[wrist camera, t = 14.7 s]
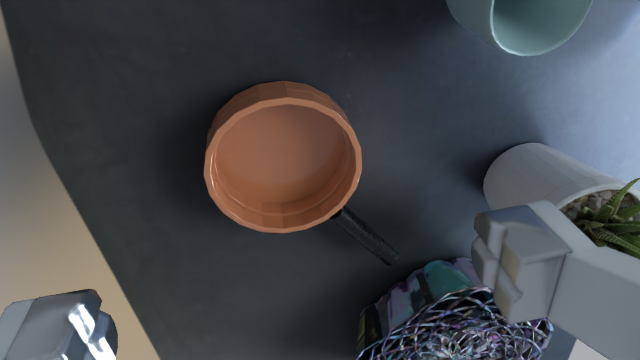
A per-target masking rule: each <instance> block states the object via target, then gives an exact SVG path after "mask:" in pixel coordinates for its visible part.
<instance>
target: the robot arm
mask: <svg viewBox="0 0 640 360" xmlns="http://www.w3.org/2000/svg"><path fill="white" fill-rule="evenodd" d="M474 229H475V230H476V232H477V233H478V234H479V235H478V236H477V238H476V239H475V240H474V241H473V242H472V248H471V257H472V262H473V267H474V269H475V272H476V274H477V276H478V278H479V279H480V281H481V282H482V284H483V285H485V286H487V287H489V288H491V289H493V290H494V294H493V301H494V303H495V304H496V306H497V307H498V309H499V310H500V312H501V313H502V315H503V316H504V318H505V320H506V321H507V323H508V324H514V323H519V322H525V321H530V320H535V319H541V318H546V317H548V320H549V321H551V322H553V323H554V324H556V325H557V326H559V327H560V328H562V329H563V330H565V331H566V332H568V333H569V334H571V335H572V336H574V337H575V338H577V339H578V340H580V341H582V342H583V343H584V344H586V345H587V346H589V347H591V348H592V349H594V350H595V351H597V352H598V353H600V354H601V355H603V356H604V357H606V358H607V359H609V360H640V259H637V258H634V257H632V256H629V255H627V254H624V253H622V252H619V251H616V250H614V249H611V248H609V247H606V246H604V247H597V246H596V245H595V244H594V243H593V242H592V241H591V240H590V239H589V238H588V237H587V236H586V235H585V234H584V233H583V232H582V231H581V230H580V229H578V228H577V227H576V226H575V225H574V224H573V223H572V222H571V221H570V220H569V219H568V218H567V217H566V216H565V215H564V214H563V213H562V212H561V211H560V210H559V209H557V208H556V207H555V206H554V205H553V204H552V203H551V202H550V201H547V200H540V201H535V202H530V203H525V204H522V205H517V206H512V207H507V208H502V209H497V210H492V211H487V212H482V213H478V214H477V216H476V218H475V223H474ZM101 302H102V300H101V298H100V297H99V295H98V294H97V292H96V291H95V290H93V289H85V290H79V291H73V292H68V293H62V294H56V295H50V296H45V297H39V298H36V299H30V300H24V301H18V302H13V303H12V304H10V305H9V306H7V307H6V308H5V310H4V312H3V313H2V315H1V317H0V360H115V357H116V353H117V348H118V334H117V330H116V326H115V323H114V321H113V319H112V317H111V315H109V314H107V313H105V312H103V311H101V310H99V309H100V306H101Z"/></svg>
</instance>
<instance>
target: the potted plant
mask: <svg viewBox="0 0 640 360" xmlns="http://www.w3.org/2000/svg"><path fill="white" fill-rule="evenodd" d="M638 180H640V178H637V179H635V180H633V181H631V182H630V183H626V182H624V181H622V180H620V179H617V178H613V177H610V176H608V175H606V174H604V173H602V172H600V171H598V170H596V169H594V168H592V167H590V166H588V165H586V164H584V163H582V162H580V161H578V160H576V159H574V158H572V157H570V156H568V155H566V154H564V153H562V152H560V151H558V150H556V149H553V148H551V147H549V146H546V145H543V144H541V143H526V144H521V145H518V146H515V147H513V148H511V149H509V150H507V151H506V152H504V153H503V154H501V155H500V156H499V157H498V158H497V159H496V160H495V161H494V162H493V163H492V165H491V166H490V168H489V169H488V171H487V173H486V176H485V178H484V184H483V191H484V195H485V198H486V200H487V203H488V205H489V207H490V209H491V211H492V210H497V209H502V208H507V207H512V206H517V205H522V204H525V203H530V202H535V201H540V200H547V201H550V202H551V203H552V204H553V205H554V206H555V207H556V208H557V209H559V210H560V211H561V212H562V213H563V214H564V215H565V216H566V217H567V218H568V219H569V220H570V221H571V222H572V223H573V224H574V225H575V226H576V227H577V228H578V229H580V230H581V231H582V232H583V233H584V234H585V235H586V236H587V237H588V238H589V239H590V240H591V241H592V242H593V243H594V244H595V245H596V246H597V247H604V246H606V247H609V248H611V249H614V250H616V251H619V252H622V253H624V254H627V255H629V256H632V257H634V258H637V259H640V190H638V189H637V188H635V187H633V186H632V185H633V184H634V183H635V182H637V181H638Z"/></svg>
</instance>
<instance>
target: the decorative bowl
mask: <svg viewBox="0 0 640 360" xmlns="http://www.w3.org/2000/svg"><path fill="white" fill-rule="evenodd" d="M493 294H494V290H493V289H491V288H489V287H487V286H485V285H483V284H482V282H481V281H480V279H479V278H478V276H477V274H476V272H475V269H474V267H473V262H472V259H469V258H465V257H458V258H454V259H453V260H451V261H450V262H447V261H443V260H435V261H431V262H429V263H428V264H427V265H426V266H424V268H421V269H419V270H416V271H414V272H413V273H412V274H411V275H410V276H409V277H408V278H407V280H406V281H402V282H397V283H396V284H394V285H393V286H391V287H390V289H389V290H388V294H386V295H383V296H382V297H381V299H380V300H379V302H377V303H374V304H371V305H369V306H368V307H366V308H364V309H363V311H362V312H361V314H360V323H359V332H358V341H357V350H356V359H355V360H539V358H540V356H541V355H542V354H543V353H544V351H545V350H546V349H547V345H548V343H549V340H550V338H551V336H552V333H553V331H554V330H553V327H552V325H551V324H552V322H551V321H549V320H548V317H546V318H541V319H535V320H530V321H525V322H519V323H514V324H508V323H507V321H506V320H505V318H504V316H503V315H502V313H501V312H500V310H499V309H498V307H497V306H496V304H495V303H494V301H493Z"/></svg>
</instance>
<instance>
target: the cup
mask: <svg viewBox="0 0 640 360" xmlns="http://www.w3.org/2000/svg"><path fill="white" fill-rule="evenodd" d="M593 1H594V0H446V5H447V7H448V9H449V11H450V13H451V15H452V16H453V17H454V19H455V20H456V21H457V22H458V23H459V24H460V25H461V26H462V27H463V28H465V29H466V30H467V31H469V32H470V33H472V34H473V35H475V36H476V37H478V38H480V39H481V40H483V41H484V42H486V43H488V44H489V45H491V46H493V47H495V48H496V49H498V50H500V51H502V52H505V53H508V54H511V55H514V56H524V57H527V56H537V55H540V54H544V53H547V52H549V51H551V50H554V49H556V48H557V47H559V46H560V45H562V44H563V43H565V42H566V41H567V40H568V39H569V38H570V37H571V36H572V35H574V33H575V32H576V31H577V30H578V28H579V27H580V26H581V24H582V23H583V21H584V19H585V18H586V16H587V14H588V12H589V10H590V8H591V6H592V3H593Z"/></svg>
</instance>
